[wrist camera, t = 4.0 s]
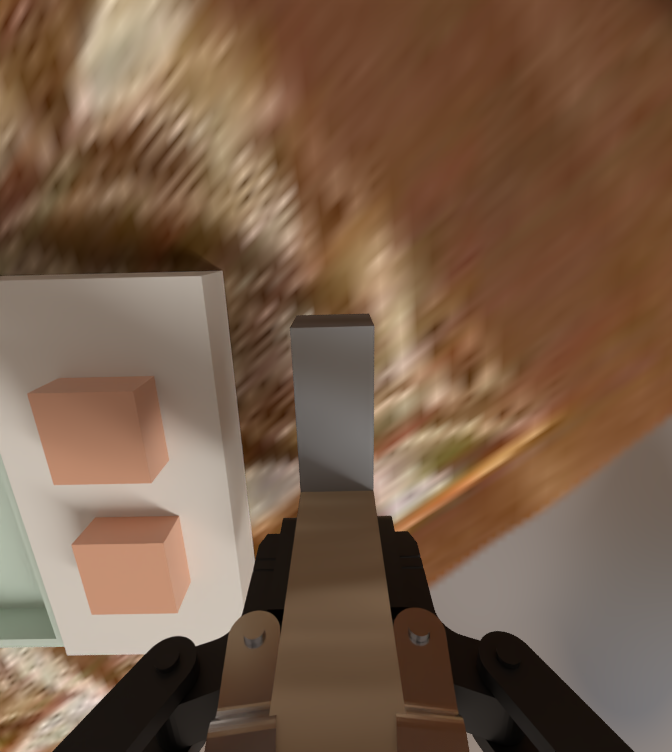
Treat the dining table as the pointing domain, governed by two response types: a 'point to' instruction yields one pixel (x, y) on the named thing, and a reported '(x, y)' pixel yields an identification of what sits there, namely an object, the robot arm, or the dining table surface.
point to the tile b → (133, 565)
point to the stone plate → (181, 428)
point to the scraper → (336, 556)
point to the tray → (21, 582)
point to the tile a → (100, 429)
